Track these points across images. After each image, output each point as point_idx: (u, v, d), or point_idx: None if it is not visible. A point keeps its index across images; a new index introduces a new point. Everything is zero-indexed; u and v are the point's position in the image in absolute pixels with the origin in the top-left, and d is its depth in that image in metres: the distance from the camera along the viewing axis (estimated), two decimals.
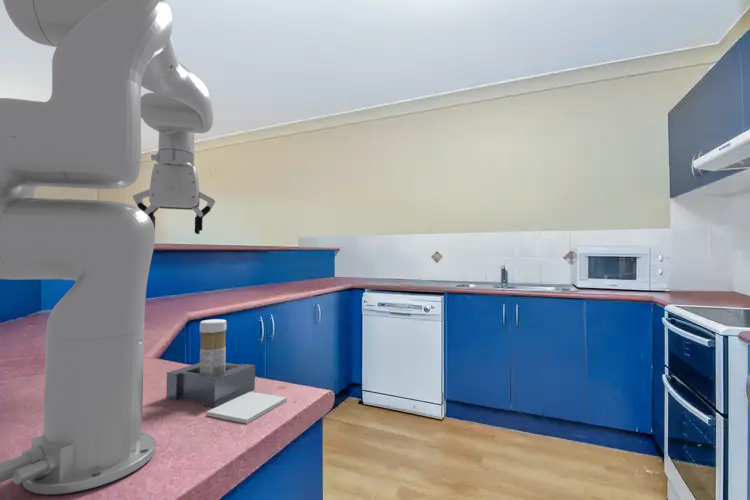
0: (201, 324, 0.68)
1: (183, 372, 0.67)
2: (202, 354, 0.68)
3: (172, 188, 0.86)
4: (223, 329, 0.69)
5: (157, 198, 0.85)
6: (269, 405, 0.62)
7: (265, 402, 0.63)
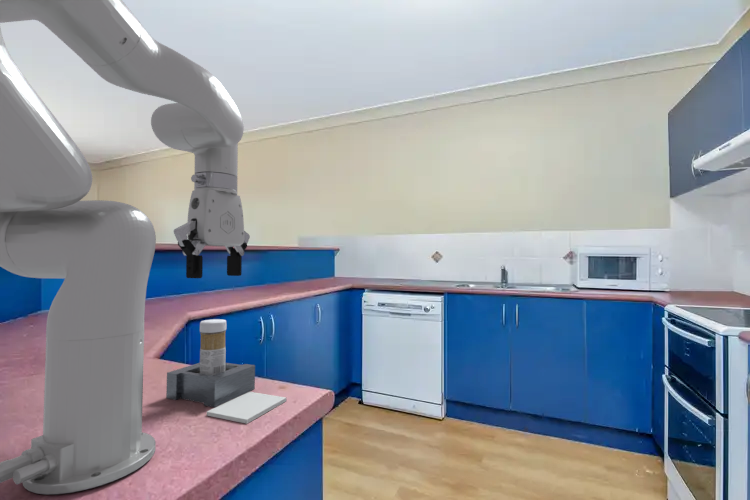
0: (201, 324, 0.68)
1: (183, 372, 0.67)
2: (202, 354, 0.68)
3: (227, 222, 0.69)
4: (223, 329, 0.69)
5: (213, 235, 0.67)
6: (269, 405, 0.62)
7: (265, 402, 0.63)
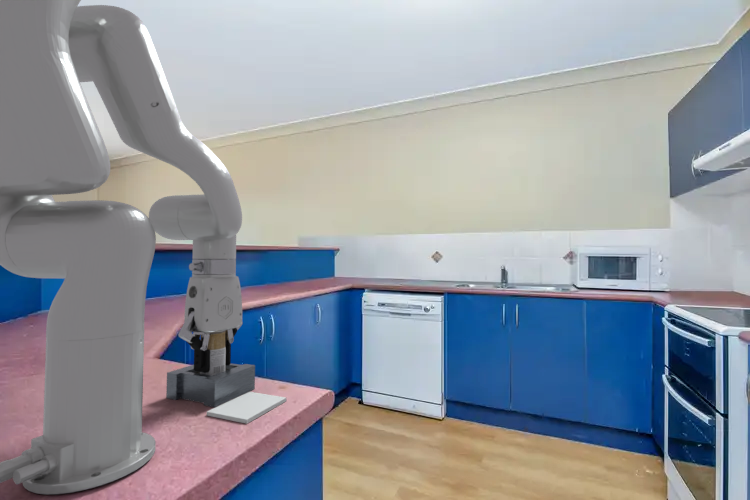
0: None
1: (183, 372, 0.67)
2: None
3: (224, 307, 0.69)
4: None
5: (211, 323, 0.66)
6: (269, 405, 0.62)
7: (265, 402, 0.63)
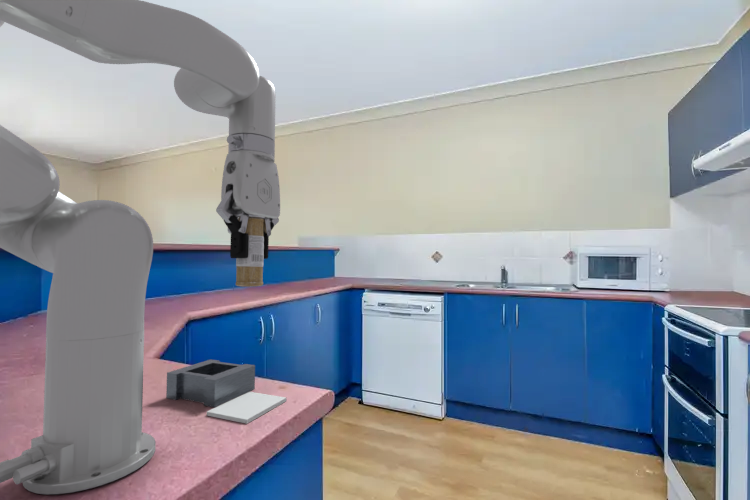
0: None
1: (183, 372, 0.67)
2: None
3: (264, 190, 0.63)
4: None
5: (251, 203, 0.60)
6: (269, 405, 0.62)
7: (265, 402, 0.63)
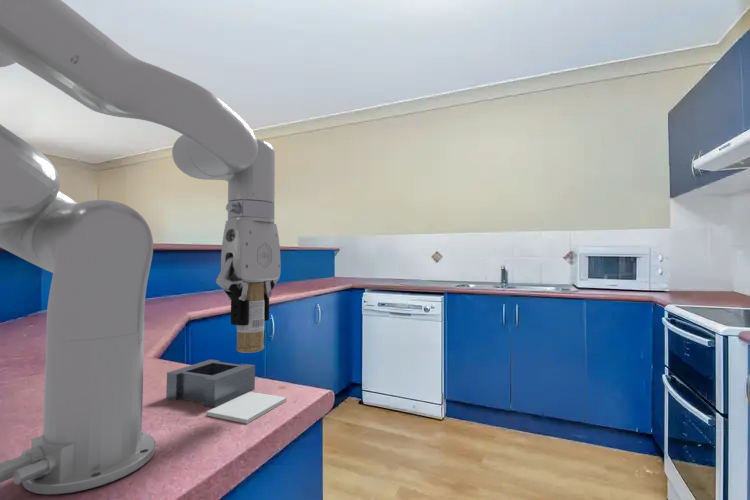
0: None
1: (183, 372, 0.67)
2: None
3: (264, 255, 0.62)
4: None
5: (251, 271, 0.59)
6: (269, 405, 0.62)
7: (265, 402, 0.63)
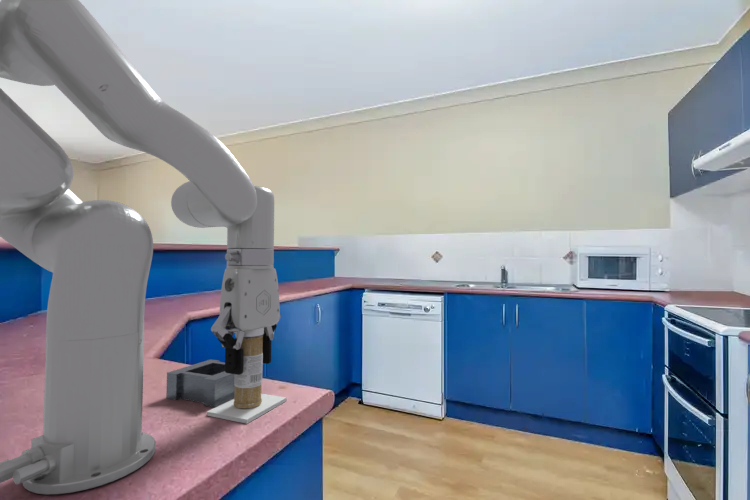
0: None
1: (183, 372, 0.67)
2: None
3: (263, 302, 0.62)
4: (261, 333, 0.62)
5: (249, 320, 0.59)
6: (269, 405, 0.62)
7: (265, 402, 0.63)
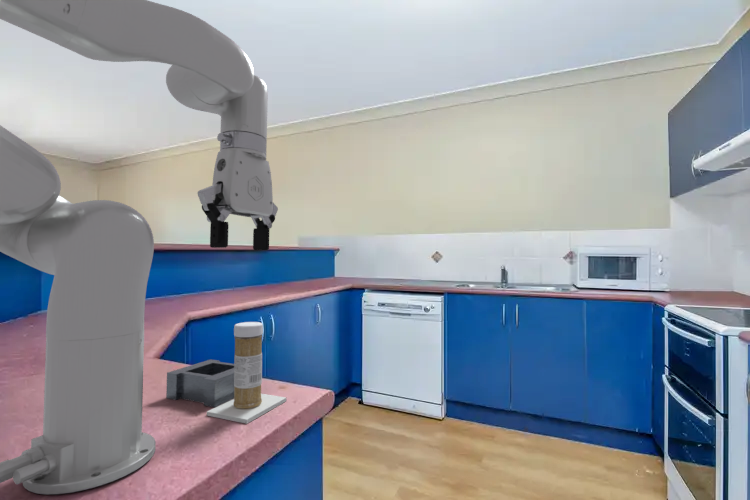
0: (236, 327, 0.61)
1: (183, 372, 0.67)
2: (237, 361, 0.61)
3: (255, 188, 0.63)
4: (260, 333, 0.62)
5: (241, 200, 0.60)
6: (269, 405, 0.62)
7: (265, 402, 0.63)
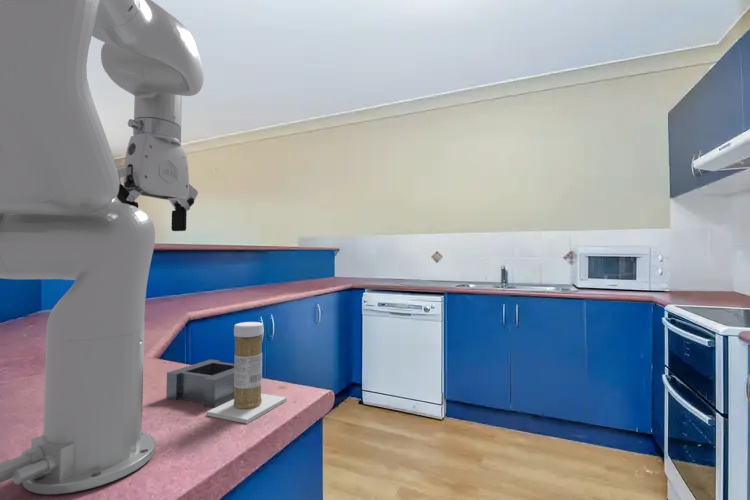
0: (236, 327, 0.61)
1: (183, 372, 0.67)
2: (237, 361, 0.61)
3: (167, 171, 0.67)
4: (260, 333, 0.62)
5: (150, 182, 0.64)
6: (269, 405, 0.62)
7: (265, 402, 0.63)
